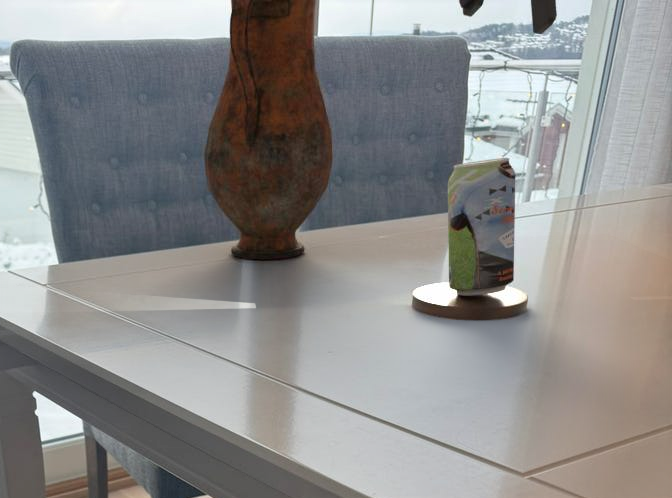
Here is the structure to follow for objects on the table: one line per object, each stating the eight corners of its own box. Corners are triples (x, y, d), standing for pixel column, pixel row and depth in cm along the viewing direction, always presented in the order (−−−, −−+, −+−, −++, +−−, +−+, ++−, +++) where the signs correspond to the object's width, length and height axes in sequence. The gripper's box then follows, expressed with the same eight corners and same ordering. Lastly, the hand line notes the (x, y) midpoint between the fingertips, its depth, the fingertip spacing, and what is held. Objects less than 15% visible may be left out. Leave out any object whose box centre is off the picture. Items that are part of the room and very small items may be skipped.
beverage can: (501, 304, 88) (523, 162, 81) (426, 296, 91) (441, 159, 85) (518, 290, 92) (540, 155, 86) (446, 283, 96) (462, 152, 89)
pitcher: (342, 244, 131) (358, -17, 115) (299, 275, 114) (311, -24, 98) (231, 238, 136) (231, -11, 120) (175, 267, 120) (166, -17, 103)
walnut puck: (505, 310, 98) (509, 281, 96) (537, 339, 89) (543, 306, 87) (400, 313, 98) (403, 283, 96) (422, 341, 89) (425, 309, 87)
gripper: (462, -200, 84) (475, -24, 83) (583, -157, 89) (596, 8, 89) (412, -132, 91) (424, 31, 90) (527, -96, 96) (539, 58, 96)
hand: (509, 19), depth 90 cm, fingers open, 8 cm apart
